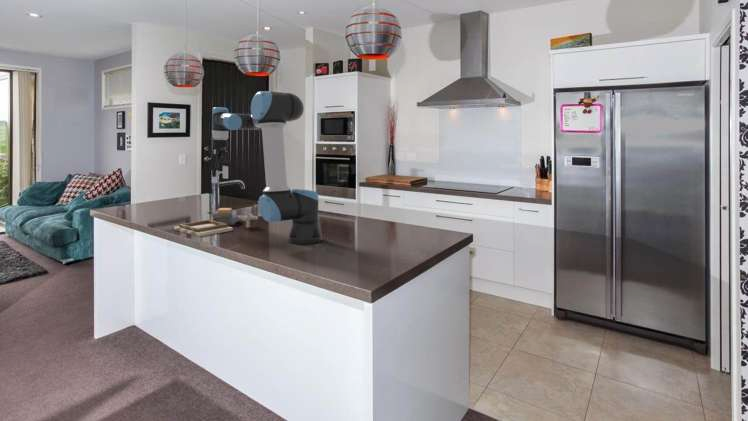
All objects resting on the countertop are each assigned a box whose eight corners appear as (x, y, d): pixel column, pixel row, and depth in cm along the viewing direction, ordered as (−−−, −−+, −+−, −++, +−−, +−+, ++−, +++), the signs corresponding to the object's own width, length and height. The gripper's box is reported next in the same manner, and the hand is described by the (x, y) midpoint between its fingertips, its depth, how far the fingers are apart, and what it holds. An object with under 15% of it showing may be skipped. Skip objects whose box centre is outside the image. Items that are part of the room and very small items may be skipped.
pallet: (232, 230, 219) (232, 224, 218) (199, 236, 205) (198, 230, 204) (207, 224, 232) (207, 218, 231) (174, 229, 218) (174, 223, 217)
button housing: (233, 224, 232) (233, 213, 231) (211, 224, 231) (211, 213, 230) (238, 220, 242) (237, 210, 241) (217, 220, 241) (216, 209, 240)
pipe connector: (261, 225, 231) (260, 206, 230) (253, 229, 221) (253, 209, 220) (242, 224, 232) (241, 205, 231) (234, 228, 222) (233, 209, 221)
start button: (229, 215, 233) (229, 209, 232) (217, 215, 232) (217, 209, 232) (232, 213, 239) (231, 208, 238) (220, 213, 238) (220, 208, 238)
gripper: (222, 136, 235) (222, 175, 240) (202, 140, 211) (202, 184, 216) (236, 137, 235) (236, 177, 240) (217, 141, 211) (217, 185, 216)
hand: (220, 180), depth 228 cm, fingers open, 13 cm apart
